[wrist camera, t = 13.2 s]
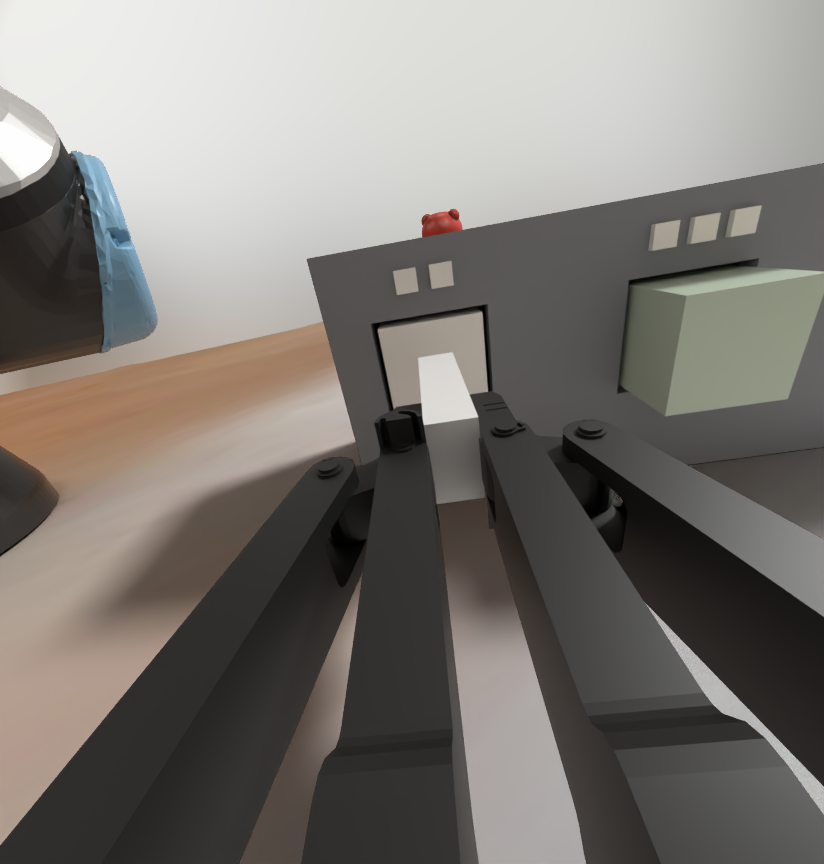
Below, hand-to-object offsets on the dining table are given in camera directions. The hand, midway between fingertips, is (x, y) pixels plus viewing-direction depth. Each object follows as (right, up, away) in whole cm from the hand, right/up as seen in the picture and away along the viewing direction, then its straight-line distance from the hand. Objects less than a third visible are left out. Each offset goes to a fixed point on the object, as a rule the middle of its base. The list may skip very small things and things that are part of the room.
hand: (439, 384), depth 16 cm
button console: (+13, -2, +10) cm, 16 cm away
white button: (0, 0, +6) cm, 6 cm away
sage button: (+12, 0, +2) cm, 12 cm away
